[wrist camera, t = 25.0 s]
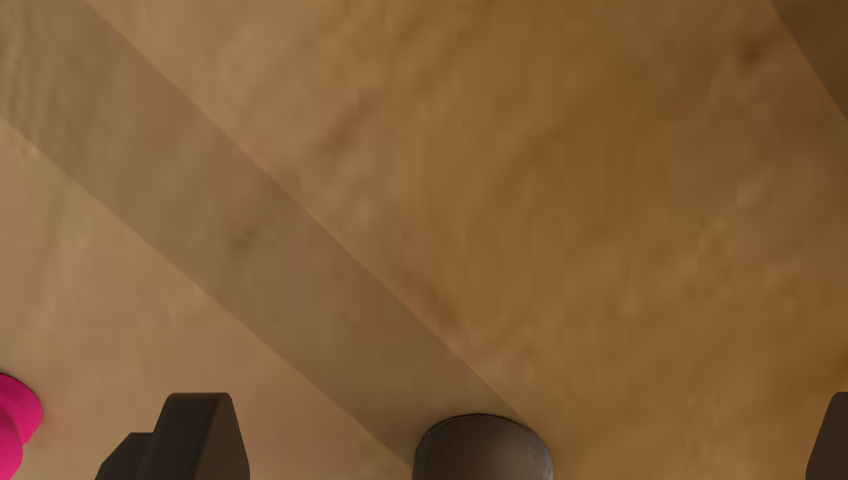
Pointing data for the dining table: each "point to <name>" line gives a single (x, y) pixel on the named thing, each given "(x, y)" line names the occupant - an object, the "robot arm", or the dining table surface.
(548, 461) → the pillar candle
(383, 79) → the dining table surface
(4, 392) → the pepper mill
